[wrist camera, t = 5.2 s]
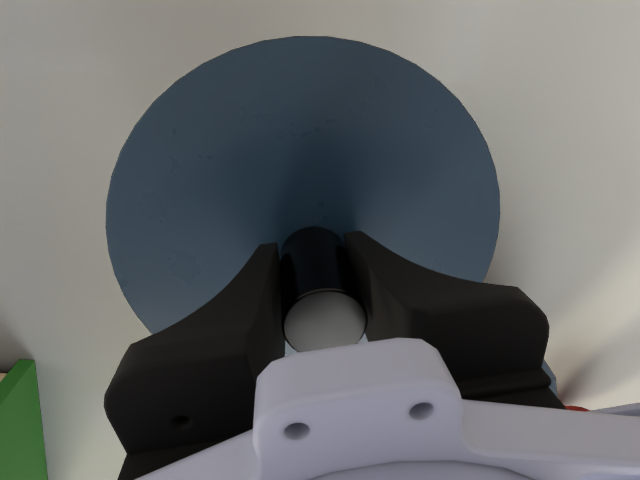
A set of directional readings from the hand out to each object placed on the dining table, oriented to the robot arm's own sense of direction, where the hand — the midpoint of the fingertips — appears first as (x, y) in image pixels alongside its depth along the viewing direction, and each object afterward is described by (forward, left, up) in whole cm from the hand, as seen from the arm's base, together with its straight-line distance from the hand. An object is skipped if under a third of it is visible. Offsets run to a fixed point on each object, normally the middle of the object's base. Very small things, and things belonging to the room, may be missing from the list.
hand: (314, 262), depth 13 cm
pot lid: (0, 0, -1) cm, 1 cm away
